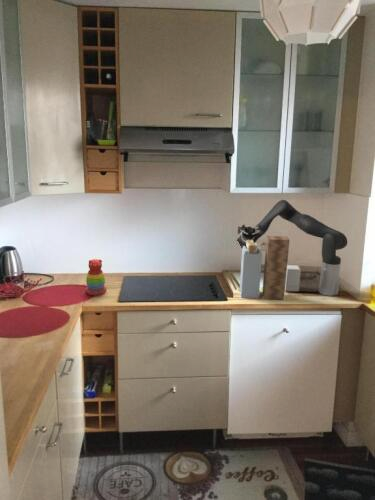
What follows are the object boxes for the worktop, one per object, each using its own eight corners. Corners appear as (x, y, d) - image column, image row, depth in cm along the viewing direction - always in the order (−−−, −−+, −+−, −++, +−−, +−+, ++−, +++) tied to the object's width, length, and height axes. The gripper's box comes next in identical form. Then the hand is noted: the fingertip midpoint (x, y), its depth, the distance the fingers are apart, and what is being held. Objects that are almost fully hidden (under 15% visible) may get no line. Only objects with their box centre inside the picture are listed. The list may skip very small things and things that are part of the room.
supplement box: (298, 291, 234) (301, 269, 230) (285, 291, 234) (287, 269, 230) (295, 286, 241) (298, 265, 237) (282, 286, 241) (284, 264, 238)
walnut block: (281, 295, 228) (286, 236, 219) (283, 300, 221) (289, 239, 212) (262, 294, 228) (266, 235, 219) (264, 299, 221) (269, 239, 212)
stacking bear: (106, 287, 232) (105, 256, 227) (107, 294, 222) (106, 261, 217) (85, 289, 229) (84, 256, 224) (85, 296, 220) (84, 262, 215)
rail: (253, 246, 232) (253, 238, 231) (256, 253, 218) (257, 245, 216) (245, 245, 232) (245, 237, 231) (248, 253, 218) (248, 245, 216)
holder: (256, 291, 233) (259, 246, 226) (258, 298, 223) (262, 251, 216) (239, 290, 233) (242, 245, 226) (241, 297, 223) (244, 251, 217)
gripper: (235, 228, 253) (238, 219, 237) (260, 229, 253) (264, 219, 237) (236, 241, 251) (239, 232, 235) (260, 241, 251) (265, 232, 235)
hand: (252, 226), depth 236 cm, fingers open, 8 cm apart
